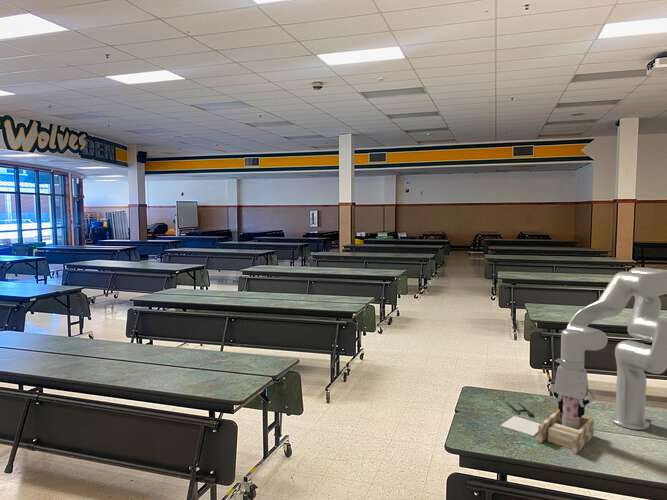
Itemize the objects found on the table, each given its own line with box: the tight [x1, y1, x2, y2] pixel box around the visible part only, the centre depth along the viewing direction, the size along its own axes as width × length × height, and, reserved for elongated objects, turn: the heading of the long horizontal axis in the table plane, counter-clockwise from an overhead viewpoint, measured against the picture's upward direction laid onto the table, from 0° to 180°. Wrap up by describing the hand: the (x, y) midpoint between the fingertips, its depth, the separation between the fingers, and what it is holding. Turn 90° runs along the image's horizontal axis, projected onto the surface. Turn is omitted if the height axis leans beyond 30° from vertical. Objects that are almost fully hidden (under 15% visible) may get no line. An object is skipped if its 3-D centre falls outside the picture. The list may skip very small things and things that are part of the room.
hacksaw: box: [506, 401, 535, 418], centre depth 197 cm, size 24×10×2 cm, turn 0°
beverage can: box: [562, 396, 580, 430], centre depth 168 cm, size 6×6×15 cm
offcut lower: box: [547, 435, 573, 450], centre depth 164 cm, size 6×8×2 cm
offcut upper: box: [548, 423, 578, 443], centre depth 164 cm, size 6×8×2 cm
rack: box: [537, 409, 595, 455], centre depth 166 cm, size 19×12×6 cm, turn 136°
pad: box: [500, 415, 541, 438], centre depth 176 cm, size 12×12×1 cm
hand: (571, 413), depth 168 cm, fingers closed on beverage can, 5 cm apart
